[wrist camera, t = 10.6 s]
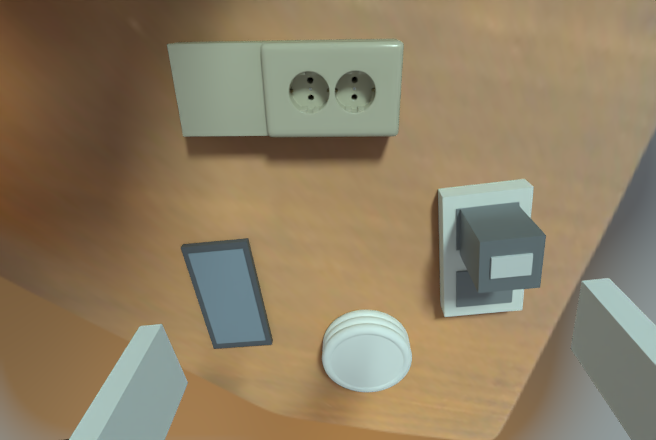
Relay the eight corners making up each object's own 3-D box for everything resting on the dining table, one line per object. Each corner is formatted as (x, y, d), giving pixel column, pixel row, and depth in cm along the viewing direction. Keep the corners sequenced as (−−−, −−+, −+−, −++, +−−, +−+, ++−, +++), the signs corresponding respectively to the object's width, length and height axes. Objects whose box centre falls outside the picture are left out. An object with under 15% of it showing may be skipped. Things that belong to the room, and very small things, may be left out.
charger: (460, 209, 37) (480, 243, 32) (516, 203, 37) (547, 236, 32) (459, 255, 40) (479, 294, 34) (512, 249, 39) (541, 289, 34)
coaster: (423, 323, 47) (429, 346, 44) (385, 380, 51) (388, 404, 48) (343, 295, 45) (343, 316, 42) (310, 356, 50) (308, 379, 47)
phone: (184, 241, 43) (180, 247, 42) (249, 235, 43) (246, 241, 42) (216, 341, 49) (213, 349, 48) (273, 337, 49) (271, 345, 48)
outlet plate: (438, 188, 39) (443, 198, 37) (524, 178, 38) (534, 187, 36) (440, 304, 45) (445, 318, 43) (515, 298, 45) (522, 311, 43)
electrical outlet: (162, 45, 30) (404, 41, 30) (181, 41, 34) (397, 38, 34) (179, 139, 34) (398, 137, 33) (195, 127, 37) (393, 125, 37)
